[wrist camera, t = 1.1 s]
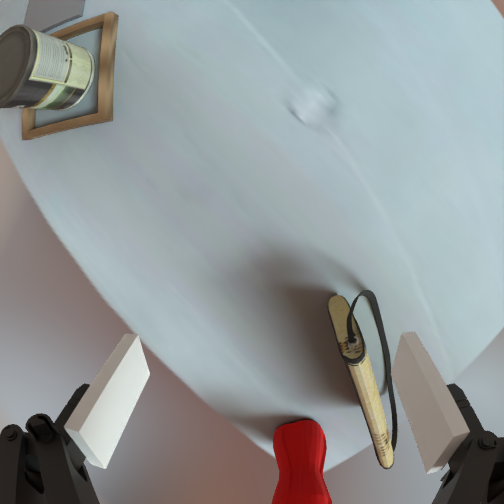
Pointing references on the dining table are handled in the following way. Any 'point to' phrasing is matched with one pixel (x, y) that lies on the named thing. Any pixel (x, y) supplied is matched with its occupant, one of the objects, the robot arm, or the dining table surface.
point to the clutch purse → (365, 372)
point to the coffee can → (42, 70)
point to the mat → (52, 13)
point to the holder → (105, 79)
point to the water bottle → (300, 464)
